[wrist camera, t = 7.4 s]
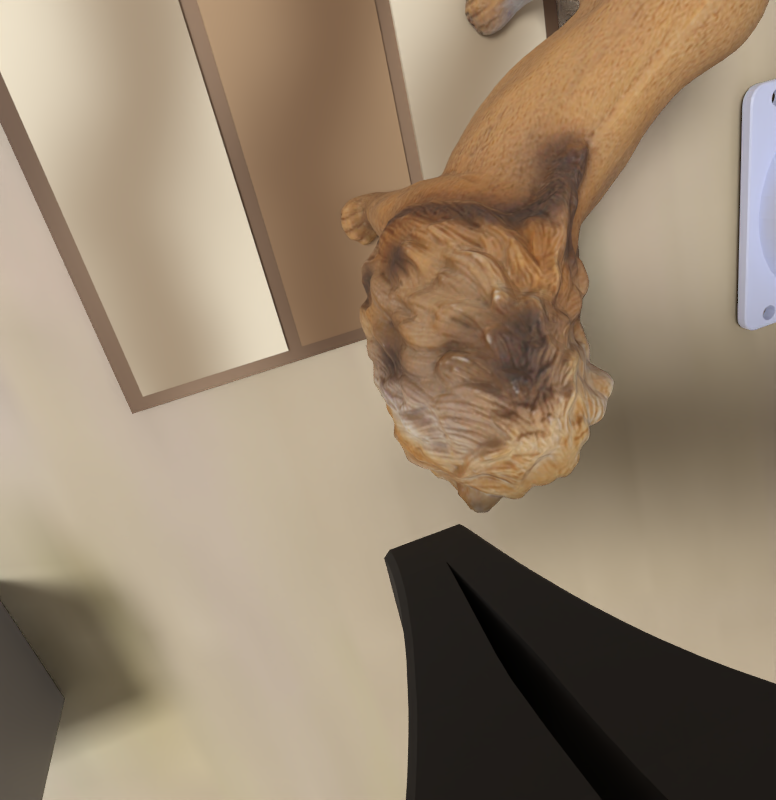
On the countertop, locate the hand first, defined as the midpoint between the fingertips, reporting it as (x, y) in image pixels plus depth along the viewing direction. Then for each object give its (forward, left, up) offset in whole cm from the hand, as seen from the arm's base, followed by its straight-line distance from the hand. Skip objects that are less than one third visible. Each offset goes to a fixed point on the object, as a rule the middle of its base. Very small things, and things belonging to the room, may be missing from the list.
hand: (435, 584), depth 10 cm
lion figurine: (-6, -5, -9) cm, 12 cm away
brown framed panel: (-2, -7, -9) cm, 12 cm away
